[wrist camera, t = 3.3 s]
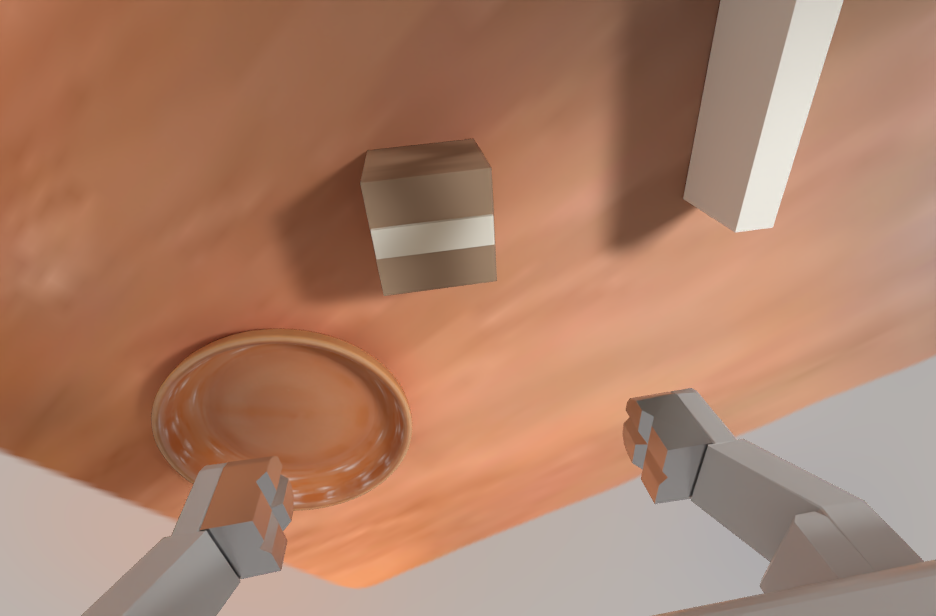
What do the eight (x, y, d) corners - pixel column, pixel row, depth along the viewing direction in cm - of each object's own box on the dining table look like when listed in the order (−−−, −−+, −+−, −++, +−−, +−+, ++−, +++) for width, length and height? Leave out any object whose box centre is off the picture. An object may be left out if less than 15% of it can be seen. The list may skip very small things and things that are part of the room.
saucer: (402, 301, 29) (402, 328, 26) (418, 466, 37) (419, 499, 35) (130, 320, 27) (102, 351, 24) (213, 489, 36) (199, 524, 33)
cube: (473, 138, 24) (492, 169, 19) (479, 235, 27) (497, 283, 22) (367, 150, 23) (359, 184, 19) (386, 247, 26) (383, 298, 22)
